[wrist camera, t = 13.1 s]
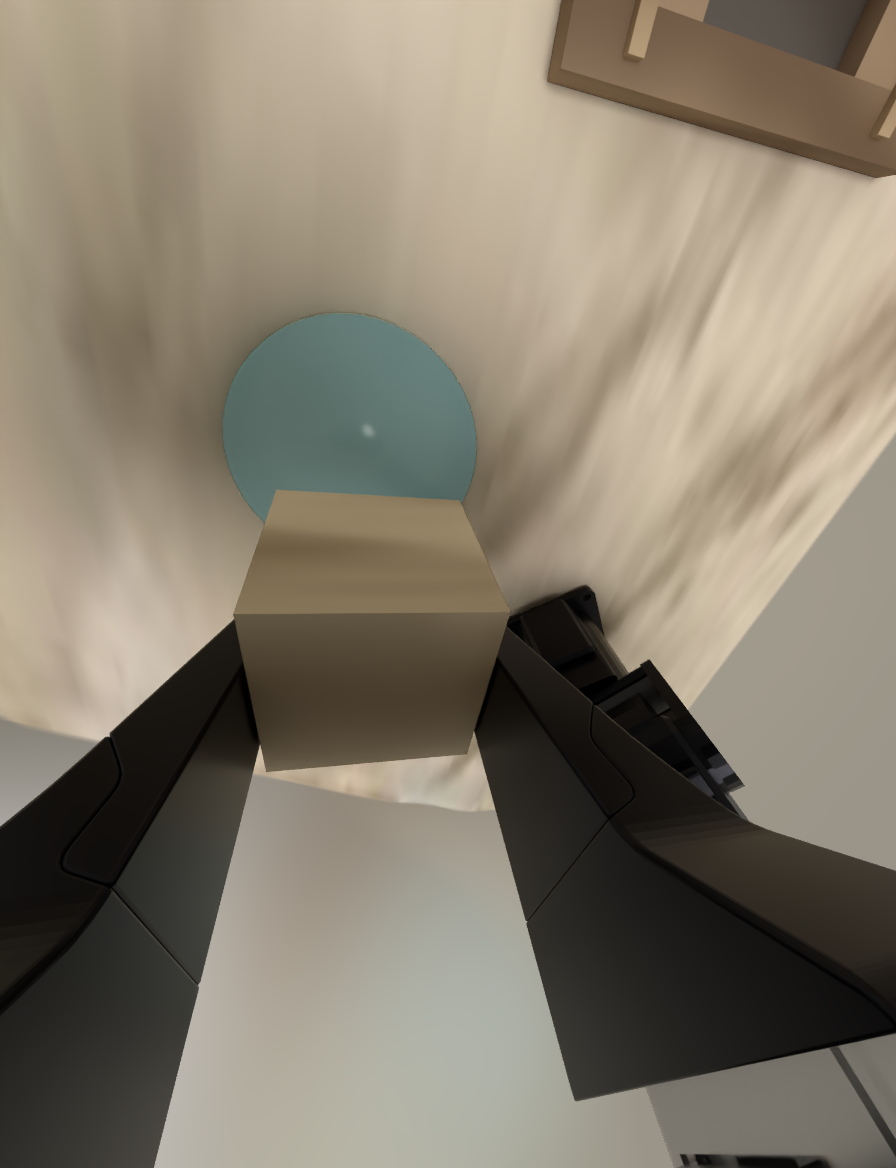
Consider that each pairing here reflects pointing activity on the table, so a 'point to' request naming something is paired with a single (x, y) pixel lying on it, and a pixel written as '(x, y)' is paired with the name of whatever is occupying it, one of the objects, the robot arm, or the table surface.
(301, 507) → the block
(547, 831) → the robot arm
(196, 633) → the table surface
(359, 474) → the teal saucer
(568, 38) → the puzzle board
